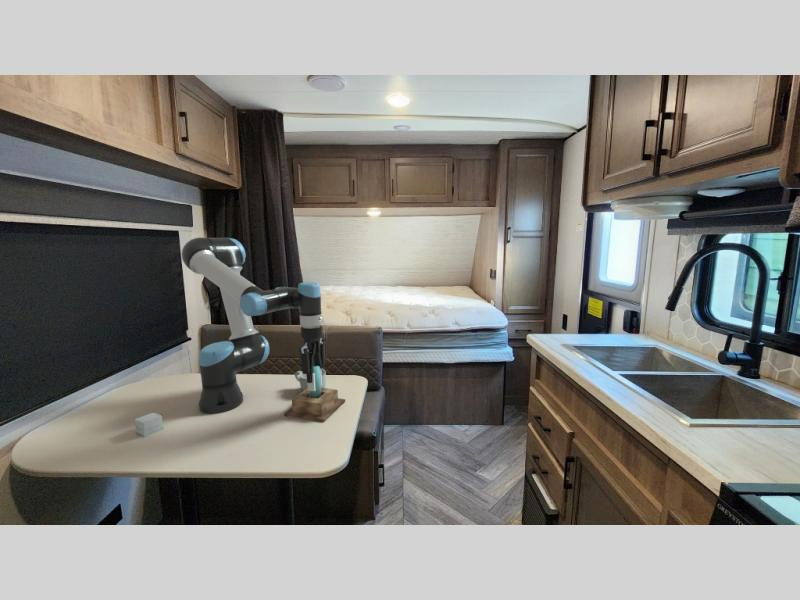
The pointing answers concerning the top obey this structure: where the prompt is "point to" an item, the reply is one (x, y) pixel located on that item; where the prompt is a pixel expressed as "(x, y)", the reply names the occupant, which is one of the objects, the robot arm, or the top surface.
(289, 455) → the top surface
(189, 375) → the top surface
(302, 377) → the teacup
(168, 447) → the top surface
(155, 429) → the small box
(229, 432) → the top surface
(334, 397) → the socket
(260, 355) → the robot arm
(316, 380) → the peg
